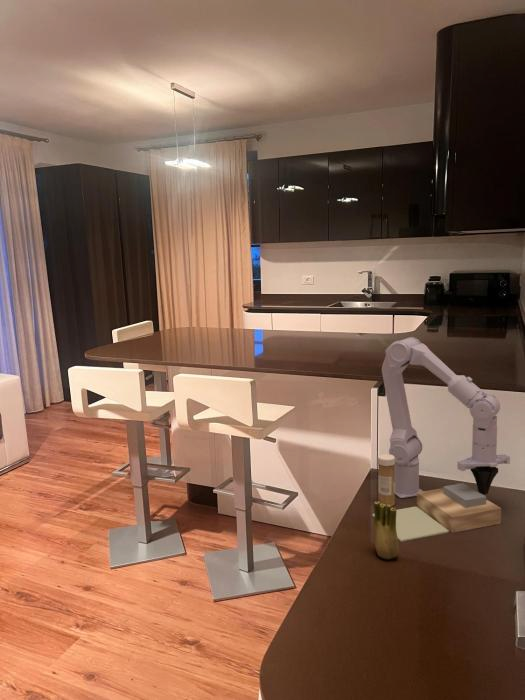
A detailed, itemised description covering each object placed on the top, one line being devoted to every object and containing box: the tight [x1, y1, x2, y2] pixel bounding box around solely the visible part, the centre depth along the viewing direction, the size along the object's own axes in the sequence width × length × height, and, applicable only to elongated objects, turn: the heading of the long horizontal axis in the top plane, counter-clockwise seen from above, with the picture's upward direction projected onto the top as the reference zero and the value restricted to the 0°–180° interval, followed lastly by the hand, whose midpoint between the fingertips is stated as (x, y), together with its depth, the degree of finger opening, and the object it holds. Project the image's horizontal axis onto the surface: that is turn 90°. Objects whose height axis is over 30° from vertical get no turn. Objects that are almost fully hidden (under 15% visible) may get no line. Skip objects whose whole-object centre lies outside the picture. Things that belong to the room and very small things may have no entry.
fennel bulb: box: [373, 501, 400, 560], centre depth 111 cm, size 6×5×12 cm
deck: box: [416, 487, 502, 534], centre depth 129 cm, size 15×14×4 cm
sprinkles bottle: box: [377, 453, 396, 507], centre depth 136 cm, size 5×5×13 cm
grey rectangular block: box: [442, 482, 487, 508], centre depth 129 cm, size 9×6×2 cm, turn 16°
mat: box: [371, 506, 450, 543], centre depth 126 cm, size 14×13×1 cm
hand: (483, 492), depth 131 cm, fingers closed
